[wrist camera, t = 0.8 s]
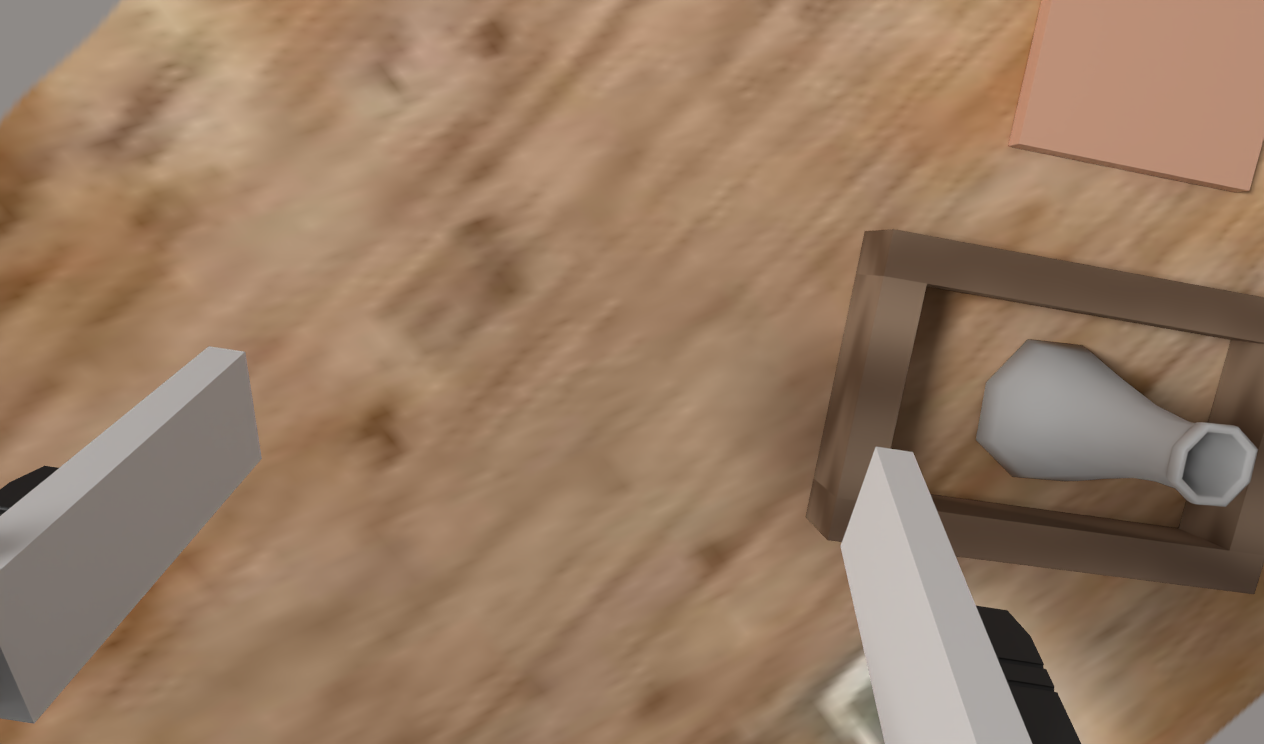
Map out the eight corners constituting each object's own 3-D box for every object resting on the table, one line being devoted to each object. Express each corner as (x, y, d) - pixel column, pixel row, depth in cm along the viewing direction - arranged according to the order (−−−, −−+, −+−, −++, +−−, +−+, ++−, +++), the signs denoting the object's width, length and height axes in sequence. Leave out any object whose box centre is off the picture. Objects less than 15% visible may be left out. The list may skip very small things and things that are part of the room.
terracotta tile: (1234, 192, 37) (1249, 190, 36) (1008, 146, 35) (1018, 143, 34) (1305, -69, 35) (1322, -76, 34) (1071, -129, 34) (1083, -138, 33)
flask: (1136, 373, 38) (1341, 416, 28) (1067, 502, 38) (1244, 587, 29) (1017, 314, 37) (1188, 336, 27) (948, 447, 37) (1090, 516, 27)
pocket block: (1202, 568, 40) (1254, 594, 37) (805, 517, 37) (827, 540, 34) (1277, 306, 38) (1338, 311, 35) (864, 231, 35) (893, 229, 32)
